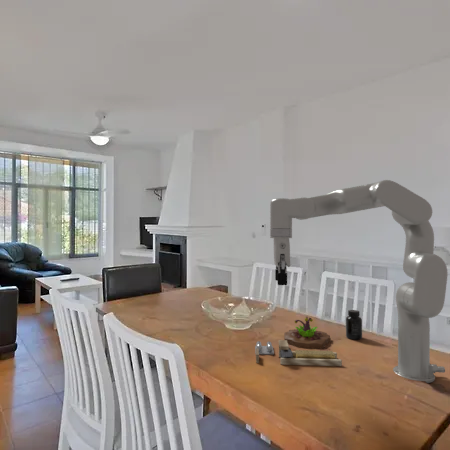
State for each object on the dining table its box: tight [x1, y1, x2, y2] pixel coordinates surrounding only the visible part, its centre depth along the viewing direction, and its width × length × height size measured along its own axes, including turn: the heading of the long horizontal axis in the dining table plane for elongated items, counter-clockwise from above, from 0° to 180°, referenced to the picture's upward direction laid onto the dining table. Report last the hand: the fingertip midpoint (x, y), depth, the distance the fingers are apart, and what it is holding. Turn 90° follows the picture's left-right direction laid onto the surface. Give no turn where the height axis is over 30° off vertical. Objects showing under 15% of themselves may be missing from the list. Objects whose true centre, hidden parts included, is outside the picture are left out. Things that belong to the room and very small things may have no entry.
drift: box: [294, 349, 335, 359], centre depth 131 cm, size 14×4×4 cm, turn 86°
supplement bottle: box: [345, 309, 363, 341], centre depth 158 cm, size 7×7×12 cm
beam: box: [255, 339, 343, 367], centre depth 131 cm, size 30×8×6 cm, turn 86°
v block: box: [254, 341, 275, 355], centre depth 142 cm, size 8×7×3 cm
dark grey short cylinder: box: [280, 347, 293, 358], centre depth 132 cm, size 5×4×4 cm
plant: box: [283, 316, 331, 349], centre depth 154 cm, size 20×20×11 cm
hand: (281, 282), depth 124 cm, fingers open, 9 cm apart
